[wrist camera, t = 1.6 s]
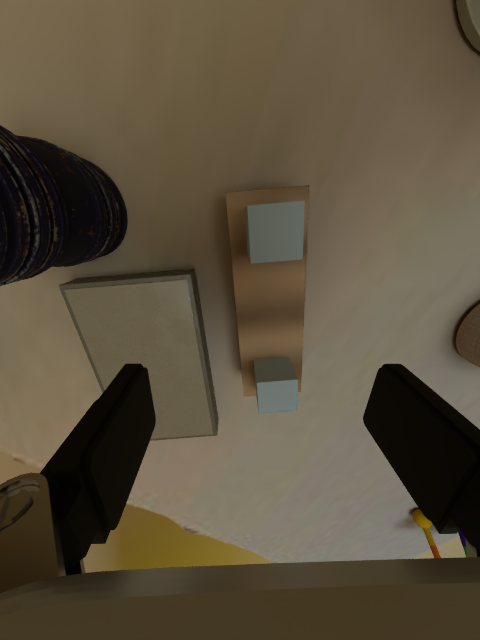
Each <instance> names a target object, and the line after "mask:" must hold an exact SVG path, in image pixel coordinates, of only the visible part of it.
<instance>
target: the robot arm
mask: <svg viewBox="0 0 480 640" xmlns="http://www.w3.org/2000/svg"><path fill="white" fill-rule="evenodd" d="M456 5H457V10H458V15H459V20H460V23H461V26H462V28H463V31H464V33H465V36H466V37H467V39H468V40H469V41H470V43H471V44H472V45H473V47H474V48H475V49H477V50H478V51H479V52H480V0H456ZM363 421H364V424H365V426H366V428H367V429H368V431H369V432H370V434H371V435H372V437H373V439H374V440H375V442H376V443H377V445H378V446H379V448H380V449H381V451H382V452H383V454H384V455H385V457H386V458H387V460H388V461H389V463H390V465H391V466H392V468H393V469H394V471H395V472H396V474H397V475H398V477H399V478H400V480H401V481H402V483H403V484H404V486H405V487H406V489H407V491H408V492H409V494H410V495H411V497H412V498H413V500H414V501H415V503H416V504H417V506H418V507H419V509H420V510H421V512H422V513H423V515H424V516H425V517H426V518H427V519H428V520H429V521H431V522H432V523H433V525H434V526H435V528H436V529H437V531H438V532H439V534H454V533H457V532H458V531H459V530H460V531H461V533H462V534H463V535H464V537H465V540H466V550H467V558H433V559H394V560H362V561H331V562H302V563H272V564H246V565H223V566H196V567H170V568H153V569H137V570H119V571H105V572H104V571H103V572H92V573H85V568H84V562H83V558H84V557H85V556H86V554H87V552H88V550H89V548H90V545H91V544H105V542H106V540H107V538H108V535H109V533H110V530H115V528H116V527H117V525H118V523H119V521H120V518H121V516H122V513H123V510H124V507H125V505H126V502H127V500H128V497H129V494H130V492H131V489H132V486H133V484H134V481H135V478H136V476H137V473H138V471H139V468H140V465H141V463H142V460H143V457H144V455H145V452H146V449H147V447H148V444H149V441H150V439H151V436H152V433H153V431H154V428H155V424H156V416H155V410H154V404H153V398H152V392H151V386H150V380H149V374H148V369H147V368H146V367H143V365H142V364H125V365H124V366H123V367H122V369H121V370H120V371H119V373H118V374H117V375H116V376H115V378H114V379H113V380H112V382H111V383H110V384H109V386H108V387H107V388H106V390H105V391H104V392H103V394H102V395H101V396H100V398H99V399H98V400H96V401H95V402H94V403H93V404H92V406H91V407H90V408H89V410H88V411H87V412H86V414H85V415H84V416H83V417H82V419H81V420H80V421H79V423H78V424H77V425H76V427H75V428H74V429H73V430H72V432H71V433H70V434H69V436H68V437H67V438H66V440H65V441H64V442H63V443H62V445H61V446H60V447H59V449H58V450H57V451H56V453H55V454H54V455H53V457H52V458H51V459H50V460H49V462H48V463H47V464H46V466H45V467H44V468H43V470H42V471H41V472H40V473H28V474H23V475H19V476H17V477H14V478H12V479H10V480H7V481H6V482H4V483H2V484H1V485H0V640H480V429H478V428H477V427H476V426H475V425H474V424H472V423H471V422H470V421H469V420H468V419H466V418H465V417H464V416H463V415H462V414H460V413H459V412H458V411H457V410H456V409H454V408H453V407H452V406H451V405H450V404H449V403H447V402H446V401H445V400H444V399H443V398H441V397H440V396H439V395H438V394H437V393H435V392H434V391H433V390H432V389H431V388H429V387H428V386H427V385H426V384H425V383H423V382H422V381H421V380H420V379H419V378H417V377H416V376H415V375H414V374H413V373H412V372H410V371H409V370H408V369H407V368H406V367H404V366H403V365H401V364H384V365H383V366H382V367H381V368H379V370H378V372H377V375H376V378H375V381H374V385H373V388H372V391H371V394H370V397H369V400H368V403H367V406H366V410H365V413H364V416H363Z"/></svg>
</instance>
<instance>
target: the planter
mask: <svg viewBox="0 0 480 640" xmlns="http://www.w3.org/2000/svg"><path fill="white" fill-rule="evenodd" d="M456 348H457V350H458V352H459V353H460V355H461V356H462V357H464V358H465V359H466V360H468V361H469V362H471V363H473V364H475V365H476V366H478V367H480V303H479V304H478V305H477V306H475V307H474V308H473V309H472V310H471V311H470V312H469V313H468V314H467V315H466V316H465V318H464V319H463V320H462V322H461V324H460V326H459V328H458V330H457V334H456Z"/></svg>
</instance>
